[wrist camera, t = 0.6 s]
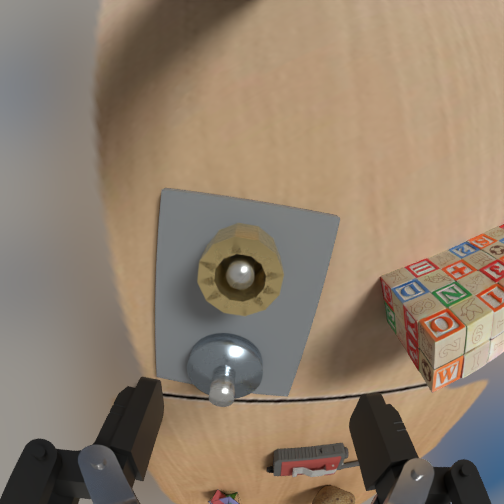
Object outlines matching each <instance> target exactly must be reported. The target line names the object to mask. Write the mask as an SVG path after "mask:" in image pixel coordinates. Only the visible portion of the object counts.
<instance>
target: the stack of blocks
mask: <svg viewBox="0 0 504 504" xmlns="http://www.w3.org/2000/svg"><path fill="white" fill-rule="evenodd" d="M380 278H381V284H382V290H383V296H384V300H385V307H386V314H387V321H388V323H389V325H390V326H391V328H392V329H393V331H394V332H395V334H396V335H397V336H398V338H399V340H400V341H401V343H402V344H403V346H404V348H405V349H406V351H407V352H408V355H409V356H410V358H411V360H412V361H413V363H414V365H415V366H416V368H417V370H418V371H419V372H420V373H421V375H422V377H423V378H424V380H425V382H426V383H427V385H428V387H429V389H430V390H431V392H435V391H437V390H439V389H441V388H443V387H445V386H446V385H448V384H451V383H452V382H454V381H456V380H458V379H459V378H464V377H466V376H468V375H470V374H471V373H473V372H475V371H476V370H478V369H480V368H481V367H483V366H484V365H486V363H487V362H490V361H491V360H493V359H494V358H496V357H497V356H499V355H500V354H501V353H503V352H504V224H503V225H501V226H499V227H496V228H494V229H492V230H489V231H487V232H485V233H484V234H481V235H479V236H476V237H474V238H472V239H470V240H468V241H467V242H464V243H462V244H460V245H458V246H455V247H453V248H451V249H449V250H447V251H444V252H442V253H440V254H437V255H435V256H432V257H430V258H428V259H424V260H421V261H419V262H416V263H414V264H411V265H409V266H406V267H404V268H401V269H398V270H395V271H393V272H390V273H388V274H385V275H382V276H381V277H380Z"/></svg>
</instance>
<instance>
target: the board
mask: <svg viewBox="0 0 504 504" xmlns="http://www.w3.org/2000/svg"><path fill="white" fill-rule="evenodd" d="M339 222H340V217H338V216H337V215H333V214H328V213H322V212H317V211H312V210H307V209H301V208H296V207H290V206H284V205H279V204H273V203H267V202H261V201H255V200H249V199H242V198H236V197H229V196H223V195H216V194H209V193H202V192H194V191H187V190H179V189H171V188H164V189H162V193H161V203H160V215H159V228H158V243H157V262H156V295H155V338H156V370H157V377H160V378H164V379H169V380H174V381H179V382H184V383H189V384H193V383H192V382H191V380H190V379H189V376H188V373H187V364H188V360H189V357H190V354H191V350H192V348H193V346H194V345H195V344H196V343H197V342H198V341H199V340H200V339H202V338H204V337H206V336H208V335H211V334H216V333H230V334H235V335H239V336H241V337H244V338H246V339H247V340H249V341H250V342H252V343H253V344H254V345H255V346H256V347H257V348H258V350H259V351H260V353H261V356H262V360H263V378H262V381H261V383H260V385H259V386H258V388H257V389H256V390H255V391H253V392H252V393H255V394H265V395H275V396H288V395H289V392H290V389H291V386H292V383H293V381H294V378H295V375H296V372H297V369H298V366H299V363H300V360H301V357H302V354H303V351H304V348H305V345H306V342H307V339H308V335H309V332H310V329H311V326H312V323H313V319H314V316H315V313H316V309H317V306H318V302H319V299H320V295H321V292H322V288H323V285H324V281H325V277H326V274H327V270H328V266H329V262H330V259H331V255H332V251H333V247H334V243H335V239H336V234H337V230H338V226H339ZM236 223H243V224H249V225H255V226H259V227H260V228H261V229H262V230H264V231H265V232H266V233H267V234H269V235H270V236H271V237H272V238H274V241H275V244H276V247H277V250H278V252H279V255H280V258H281V262H282V267H283V272H284V277H283V281H282V286H281V290H280V295H279V296H278V297H277V298H276V299H275V300H274V301H273V302H272V303H271V304H270V305H269V306H268V307H267V308H266V310H263V311H260V312H257V313H254V314H250V315H247V316H240V315H234V314H227V313H223V312H222V311H220V310H219V309H217V308H216V307H214V306H213V305H212V304H210V303H209V302H207V301H206V299H205V297H204V295H203V293H202V291H201V289H200V287H199V285H198V283H197V280H198V270H199V261H200V259H201V257H202V255H203V253H204V251H205V249H206V247H207V245H208V244H209V243H210V241H211V240H212V239H213V238H214V236H215V235H216V234H217V233H218V231H219V230H220V229H223V228H226V227H228V226H231V225H234V224H236Z"/></svg>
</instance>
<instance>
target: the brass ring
mask: <svg viewBox="0 0 504 504" xmlns="http://www.w3.org/2000/svg"><path fill="white" fill-rule="evenodd" d="M235 254H240V255H247V256H251V257H253V258H254V259H255V260H256V261H258V262H259V263H260V264H262V267H263V268H262V269H261V270H260V271H259V273H258V274H257V275H256V276H254V281H253V283H252V285H251V286H250V287H248V288H246V289H242V290H239V289H235V288H233V287H231V286H230V285H229V283H228V282H227V279H226V274H227V272H225V270H224V268H223V266H222V264H221V261H222V260H223V259H224V258H227V257H230V256H233V255H235ZM283 277H284V272H283V267H282V262H281V258H280V255H279V252H278V250H277V247H276V244H275V241H274V238H272V237H271V236H270V235H269V234H267V233H266V232H265V231H264V230H262V229H261V228H260V227H259V226H255V225H249V224H243V223H236V224H234V225H231V226H228V227H226V228H223V229H220V230H219V231H218V233H217V234H216V235H215V236H214V238H213V239H212V240H211V241H210V243H209V244H208V245H207V247H206V249H205V251H204V253H203V255H202V257H201V259H200V261H199V270H198V280H197V283H198V285H199V287H200V289H201V291H202V293H203V295H204V297H205V299H206V301H207V302H209V303H210V304H212V305H213V306H214V307H216V308H217V309H219V310H220V311H222V312H223V313H227V314H234V315H240V316H247V315H250V314H254V313H257V312H260V311H263V310H266V308H267V307H268V306H269V305H270V304H271V303H272V302H273V301H274V300H275V299H276V298H277V297H278V296H279V295H280V290H281V286H282V281H283Z"/></svg>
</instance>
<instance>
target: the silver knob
mask: <svg viewBox="0 0 504 504" xmlns="http://www.w3.org/2000/svg"><path fill="white" fill-rule="evenodd" d="M221 264H222V266H223V268H224V270H225V272H227V274H226V279H227V282H228V283H229V285H230V286H231V287H233V288H235V289H239V290H242V289H246V288H248V287H250V286H251V285H252V283H253V281H254V276H256V275H257V274H258V273H259V271H260V270H261V269H262V268H263V267H262V264H260V263H259V262H258V261H256V260H255V259H254V258H253V257H251V256H247V255H240V254H235V255H233V256H230V257H227V258H224V259H223V260H222V261H221Z"/></svg>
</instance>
